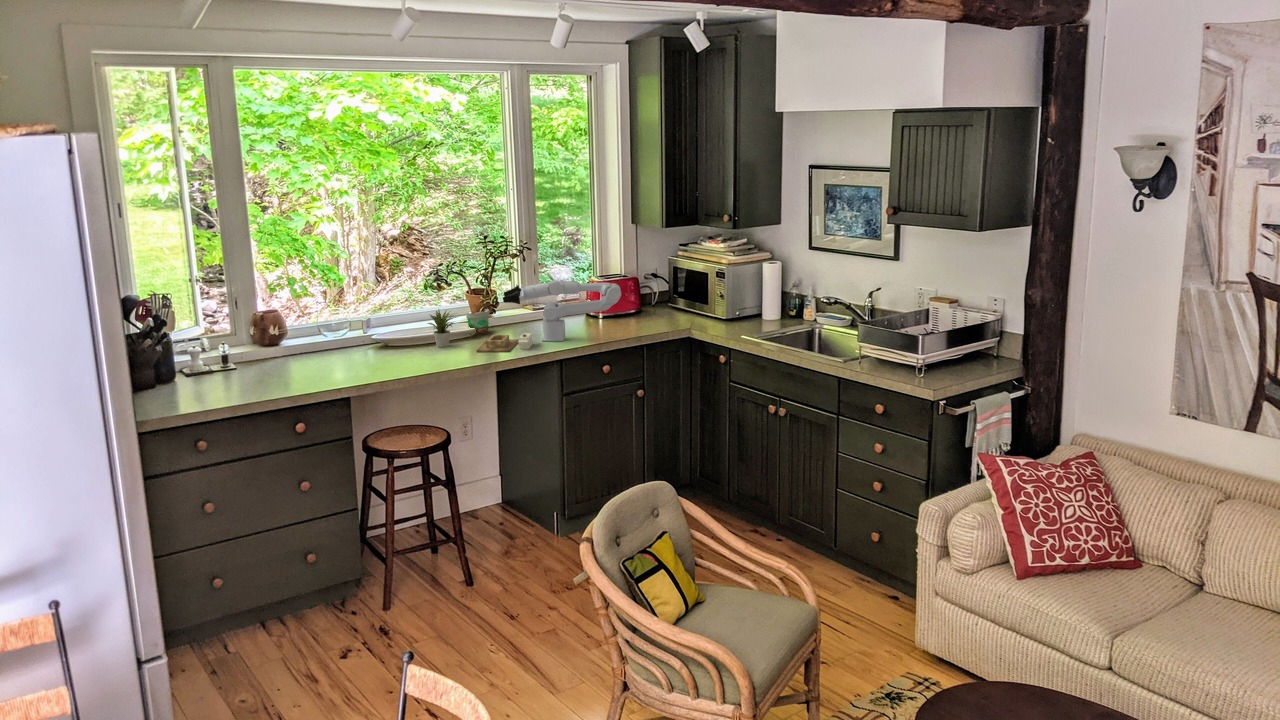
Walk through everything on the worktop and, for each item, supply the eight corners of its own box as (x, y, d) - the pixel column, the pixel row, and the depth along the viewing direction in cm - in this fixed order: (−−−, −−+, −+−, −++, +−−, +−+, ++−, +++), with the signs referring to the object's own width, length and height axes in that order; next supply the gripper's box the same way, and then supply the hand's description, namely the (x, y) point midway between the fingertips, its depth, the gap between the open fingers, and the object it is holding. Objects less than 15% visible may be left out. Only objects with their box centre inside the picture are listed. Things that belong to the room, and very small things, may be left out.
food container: (476, 336, 446) (475, 314, 443) (467, 335, 449) (465, 313, 447) (496, 331, 455) (495, 310, 453) (487, 330, 459) (485, 308, 456)
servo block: (533, 343, 432) (532, 330, 431) (527, 350, 420) (526, 337, 418) (524, 343, 433) (523, 330, 431) (518, 350, 420) (517, 337, 419)
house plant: (451, 351, 421) (449, 313, 417) (421, 350, 424) (418, 312, 420) (464, 343, 435) (461, 306, 431) (434, 342, 437) (431, 305, 433)
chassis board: (519, 341, 436) (518, 332, 435) (509, 352, 417) (508, 343, 416) (487, 341, 437) (486, 332, 436) (476, 352, 418) (475, 343, 417)
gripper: (533, 278, 438) (502, 284, 437) (532, 287, 424) (500, 293, 424) (536, 293, 440) (506, 299, 440) (535, 303, 426) (504, 309, 426)
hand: (503, 297), depth 432 cm, fingers open, 7 cm apart
